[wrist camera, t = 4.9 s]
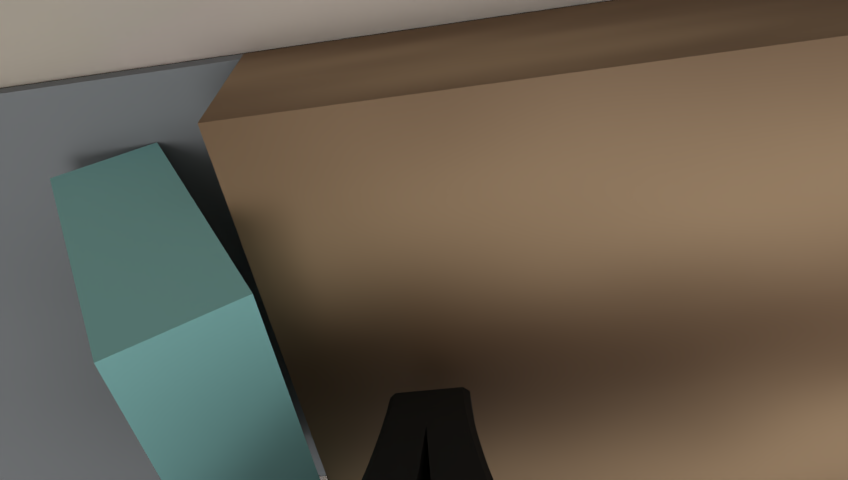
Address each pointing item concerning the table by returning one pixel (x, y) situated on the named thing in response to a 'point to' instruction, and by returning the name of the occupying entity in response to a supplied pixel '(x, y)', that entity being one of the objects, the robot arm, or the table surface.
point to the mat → (51, 271)
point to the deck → (561, 233)
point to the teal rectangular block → (176, 326)
